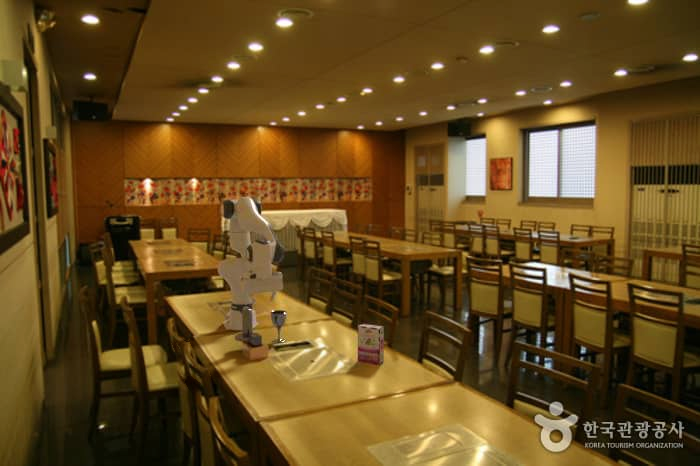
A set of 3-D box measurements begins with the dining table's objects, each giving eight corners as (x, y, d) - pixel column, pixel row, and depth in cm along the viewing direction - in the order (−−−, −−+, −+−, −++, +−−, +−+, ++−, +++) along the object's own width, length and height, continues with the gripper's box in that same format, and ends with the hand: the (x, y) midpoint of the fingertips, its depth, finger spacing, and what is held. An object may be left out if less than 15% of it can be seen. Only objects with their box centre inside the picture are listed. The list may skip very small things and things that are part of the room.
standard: (231, 348, 260) (230, 308, 258) (254, 344, 266) (254, 305, 264) (247, 361, 242) (246, 317, 240) (271, 356, 248) (271, 314, 246)
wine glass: (288, 338, 277) (288, 310, 275) (284, 343, 269) (284, 314, 267) (273, 338, 277) (272, 310, 276) (269, 342, 270) (269, 313, 268)
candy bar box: (384, 361, 242) (384, 326, 241) (379, 364, 238) (379, 328, 236) (362, 357, 247) (362, 323, 246) (357, 361, 243) (357, 325, 241)
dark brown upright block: (249, 354, 251) (248, 333, 250) (257, 353, 253) (256, 332, 252) (253, 358, 246) (253, 337, 245) (261, 356, 248) (261, 335, 247)
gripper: (280, 270, 262) (280, 297, 264) (239, 273, 251) (239, 302, 253) (285, 272, 256) (285, 300, 258) (244, 276, 246) (244, 305, 248)
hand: (262, 301), depth 256 cm, fingers open, 8 cm apart
